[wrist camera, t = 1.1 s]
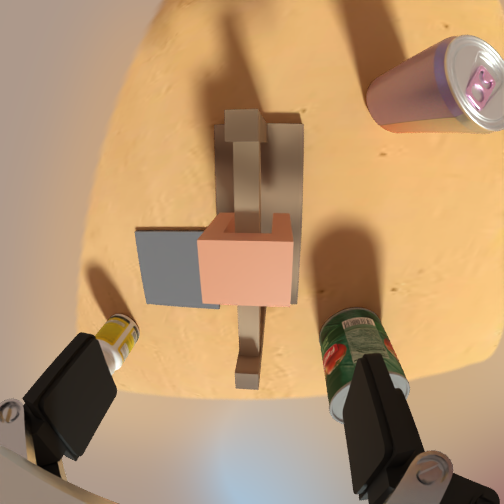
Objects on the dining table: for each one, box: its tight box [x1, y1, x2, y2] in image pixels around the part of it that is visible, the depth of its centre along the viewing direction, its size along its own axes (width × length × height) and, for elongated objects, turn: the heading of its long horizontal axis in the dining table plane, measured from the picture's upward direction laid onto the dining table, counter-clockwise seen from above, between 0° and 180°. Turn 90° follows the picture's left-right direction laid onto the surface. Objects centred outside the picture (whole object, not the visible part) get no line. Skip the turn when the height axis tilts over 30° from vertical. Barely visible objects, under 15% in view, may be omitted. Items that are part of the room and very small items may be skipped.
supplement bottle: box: [95, 314, 139, 376], centre depth 31 cm, size 5×5×8 cm
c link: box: [197, 213, 294, 307], centre depth 19 cm, size 4×5×6 cm
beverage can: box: [366, 35, 504, 134], centre depth 16 cm, size 6×6×15 cm
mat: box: [135, 231, 220, 309], centre depth 31 cm, size 9×9×1 cm
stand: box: [214, 109, 304, 390], centre depth 22 cm, size 18×8×14 cm, turn 0°
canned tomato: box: [319, 307, 410, 424], centre depth 27 cm, size 8×8×11 cm
